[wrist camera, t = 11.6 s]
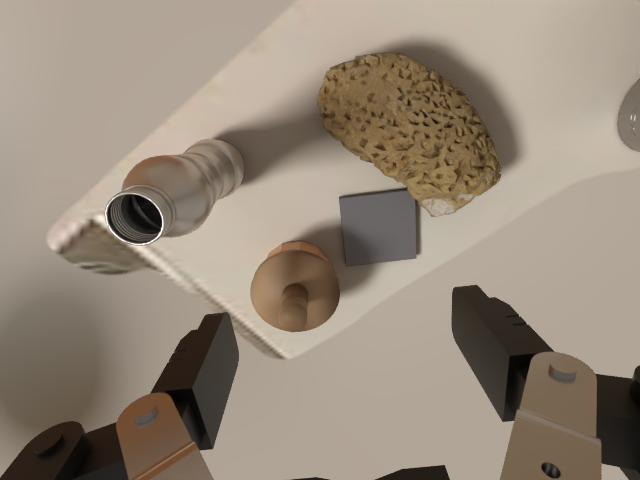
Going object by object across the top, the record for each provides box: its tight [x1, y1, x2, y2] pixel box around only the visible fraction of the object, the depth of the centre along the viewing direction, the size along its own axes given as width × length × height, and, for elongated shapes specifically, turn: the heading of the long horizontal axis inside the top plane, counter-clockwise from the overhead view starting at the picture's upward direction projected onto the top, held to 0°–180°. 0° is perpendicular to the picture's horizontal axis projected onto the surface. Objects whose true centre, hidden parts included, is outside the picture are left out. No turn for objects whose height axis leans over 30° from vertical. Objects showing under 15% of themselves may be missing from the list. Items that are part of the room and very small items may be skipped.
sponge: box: [317, 52, 501, 217], centre depth 36 cm, size 13×8×20 cm
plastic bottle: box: [105, 139, 244, 245], centre depth 31 cm, size 6×7×20 cm
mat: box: [339, 189, 416, 266], centre depth 43 cm, size 9×9×1 cm
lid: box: [251, 250, 340, 332], centre depth 38 cm, size 10×10×6 cm
